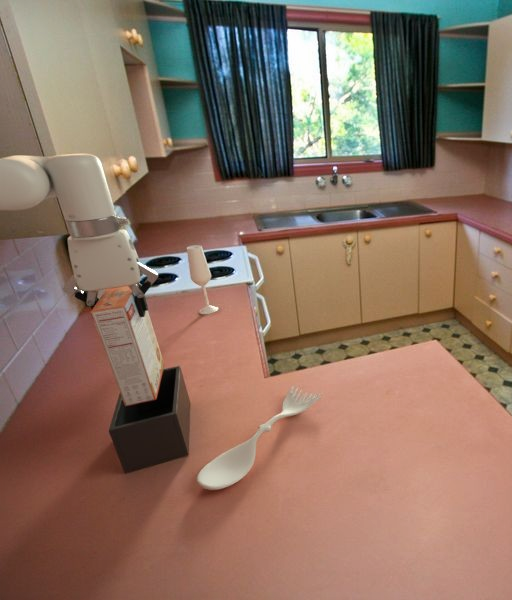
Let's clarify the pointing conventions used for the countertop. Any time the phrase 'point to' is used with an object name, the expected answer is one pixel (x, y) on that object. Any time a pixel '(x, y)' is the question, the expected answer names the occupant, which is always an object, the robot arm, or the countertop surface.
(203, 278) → the champagne flute
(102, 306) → the cracker box
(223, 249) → the countertop surface
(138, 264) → the robot arm
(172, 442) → the open box
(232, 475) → the spoon
